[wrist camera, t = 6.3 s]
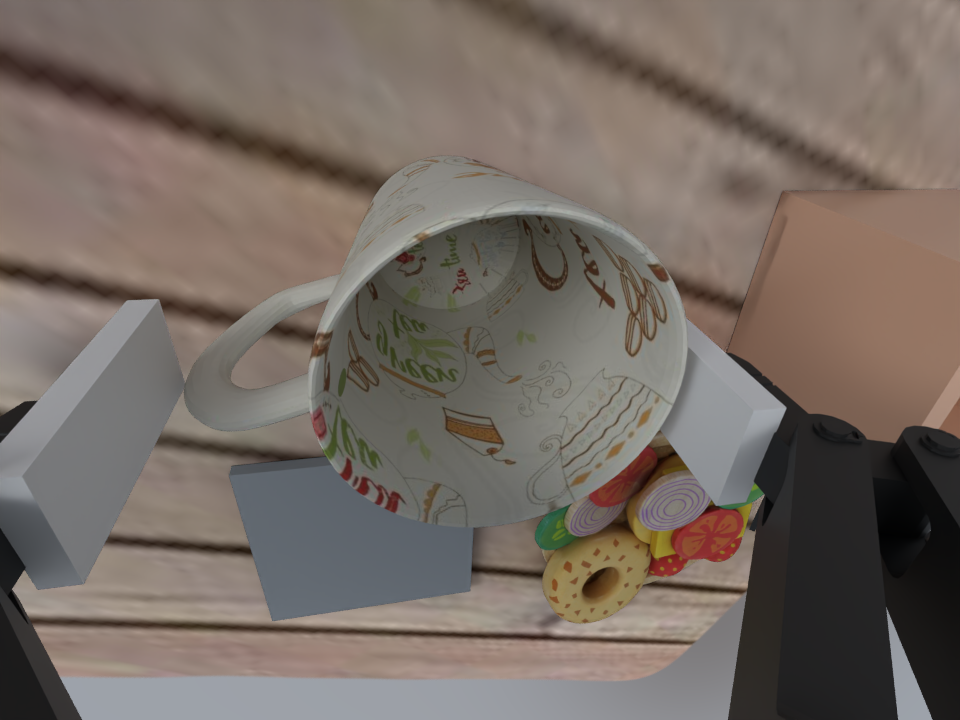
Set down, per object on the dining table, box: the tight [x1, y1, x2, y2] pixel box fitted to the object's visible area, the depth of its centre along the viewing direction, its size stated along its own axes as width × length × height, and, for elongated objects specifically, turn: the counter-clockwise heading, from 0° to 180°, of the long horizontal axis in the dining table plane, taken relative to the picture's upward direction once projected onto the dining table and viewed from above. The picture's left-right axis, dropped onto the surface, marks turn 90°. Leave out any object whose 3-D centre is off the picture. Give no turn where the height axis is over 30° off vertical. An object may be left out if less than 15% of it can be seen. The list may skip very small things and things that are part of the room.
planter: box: [727, 189, 960, 443], centre depth 20 cm, size 9×9×9 cm
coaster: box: [229, 457, 474, 621], centre depth 27 cm, size 11×11×1 cm
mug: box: [184, 156, 688, 527], centre depth 15 cm, size 8×13×10 cm, turn 105°
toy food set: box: [535, 431, 764, 623], centre depth 29 cm, size 13×13×3 cm
